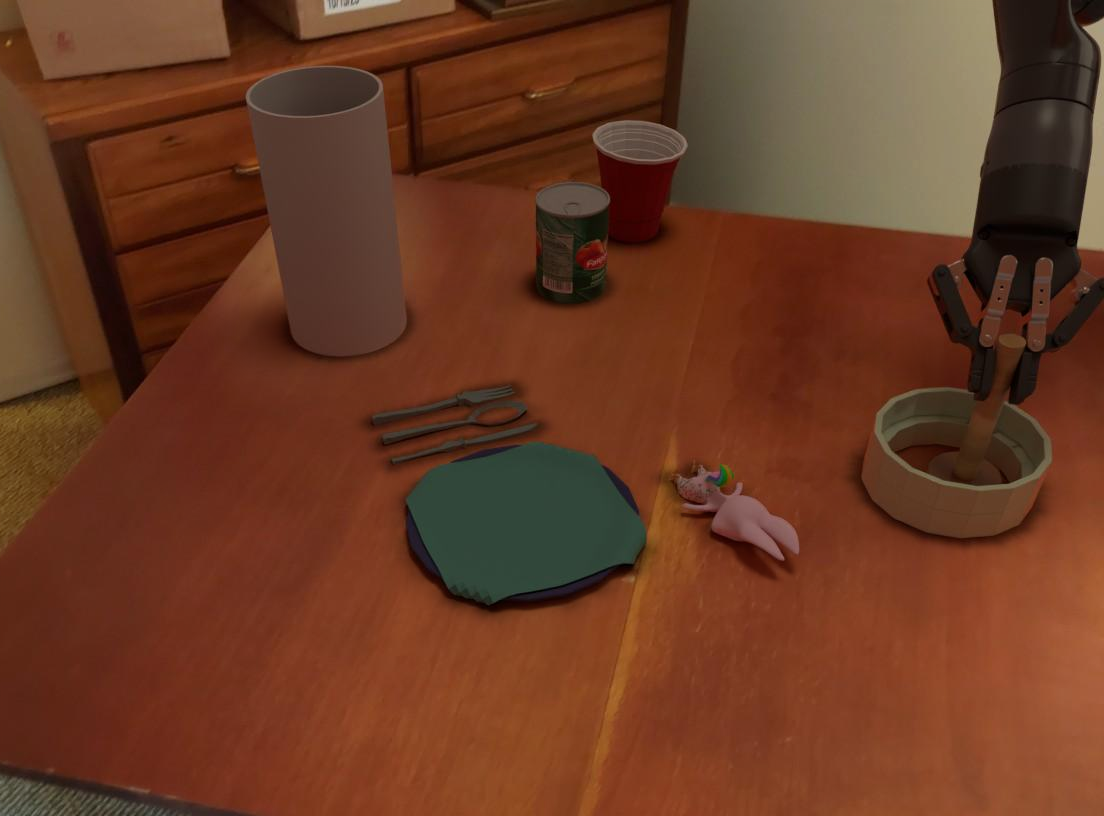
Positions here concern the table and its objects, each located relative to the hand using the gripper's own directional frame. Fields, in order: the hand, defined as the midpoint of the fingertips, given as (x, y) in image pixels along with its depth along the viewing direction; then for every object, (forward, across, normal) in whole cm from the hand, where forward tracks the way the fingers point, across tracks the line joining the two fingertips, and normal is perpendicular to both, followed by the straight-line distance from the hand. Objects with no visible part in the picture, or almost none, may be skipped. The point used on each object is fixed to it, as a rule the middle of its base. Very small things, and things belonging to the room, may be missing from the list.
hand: (999, 400), depth 83 cm
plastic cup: (-23, -34, +41) cm, 58 cm away
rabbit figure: (+12, -19, +5) cm, 23 cm away
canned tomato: (-13, -40, +31) cm, 52 cm away
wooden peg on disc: (+6, 0, +8) cm, 10 cm away
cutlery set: (+12, -39, +5) cm, 41 cm away
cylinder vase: (-5, -62, +22) cm, 66 cm away
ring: (+6, -1, +11) cm, 13 cm away
